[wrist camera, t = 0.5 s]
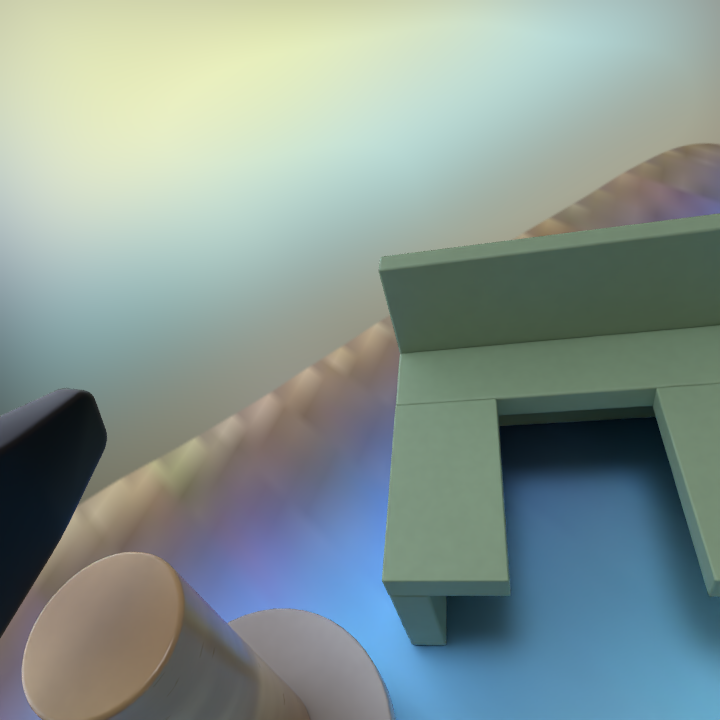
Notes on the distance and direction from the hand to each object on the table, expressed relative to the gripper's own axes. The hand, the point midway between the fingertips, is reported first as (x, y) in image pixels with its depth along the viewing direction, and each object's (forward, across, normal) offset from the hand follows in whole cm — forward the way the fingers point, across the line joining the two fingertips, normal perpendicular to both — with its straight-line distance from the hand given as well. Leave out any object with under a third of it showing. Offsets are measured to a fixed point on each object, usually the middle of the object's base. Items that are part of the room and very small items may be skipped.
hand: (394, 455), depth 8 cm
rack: (+11, -5, +12) cm, 17 cm away
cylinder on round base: (+1, +3, +15) cm, 16 cm away
